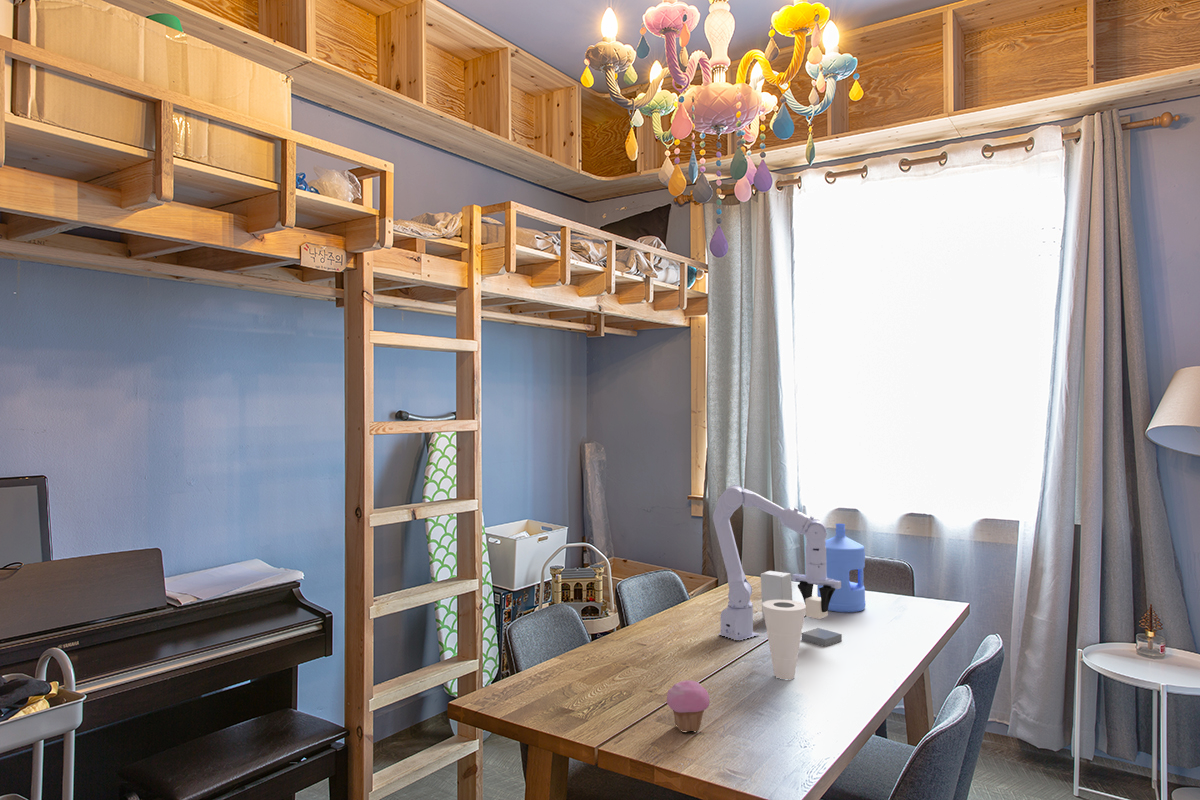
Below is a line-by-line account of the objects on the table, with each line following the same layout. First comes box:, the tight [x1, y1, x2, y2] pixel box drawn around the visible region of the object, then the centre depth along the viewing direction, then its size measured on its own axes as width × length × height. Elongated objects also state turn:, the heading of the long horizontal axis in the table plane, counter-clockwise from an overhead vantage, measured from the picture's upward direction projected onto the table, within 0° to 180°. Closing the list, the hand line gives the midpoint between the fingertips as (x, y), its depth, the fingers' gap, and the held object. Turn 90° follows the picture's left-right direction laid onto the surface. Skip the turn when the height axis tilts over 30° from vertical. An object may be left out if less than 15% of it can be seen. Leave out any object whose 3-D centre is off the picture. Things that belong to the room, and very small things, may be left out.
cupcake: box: [666, 679, 710, 732], centre depth 157 cm, size 9×9×10 cm
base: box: [801, 627, 843, 647], centre depth 218 cm, size 8×8×2 cm
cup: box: [761, 599, 806, 680], centre depth 188 cm, size 11×11×18 cm
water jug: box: [816, 523, 866, 613], centre depth 255 cm, size 16×16×28 cm
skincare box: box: [760, 570, 793, 620], centre depth 240 cm, size 8×6×15 cm
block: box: [804, 595, 829, 620], centre depth 217 cm, size 4×4×5 cm
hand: (816, 609), depth 217 cm, fingers closed on block, 4 cm apart
